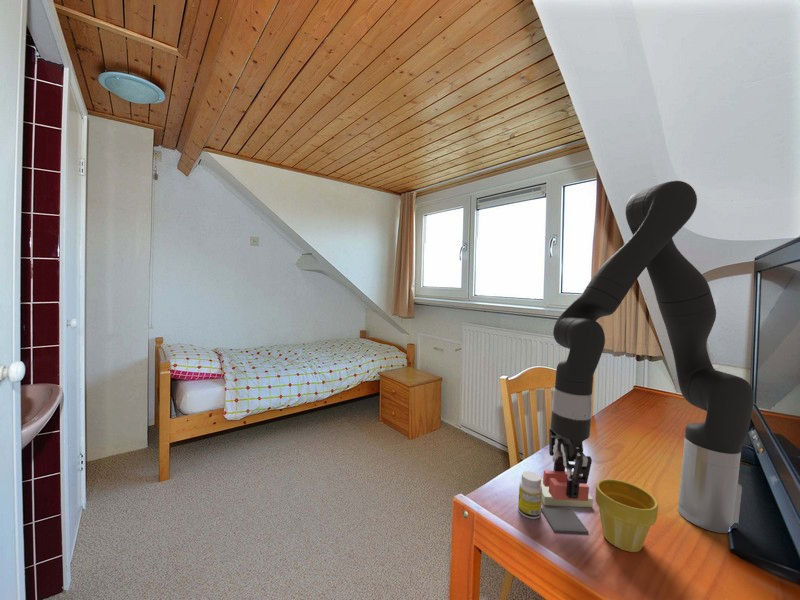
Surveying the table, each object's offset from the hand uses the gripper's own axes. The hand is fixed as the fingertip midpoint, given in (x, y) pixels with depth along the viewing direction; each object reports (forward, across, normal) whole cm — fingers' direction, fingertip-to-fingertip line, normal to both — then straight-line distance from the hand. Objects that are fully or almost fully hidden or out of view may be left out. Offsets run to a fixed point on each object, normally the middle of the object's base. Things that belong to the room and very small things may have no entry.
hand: (564, 488), depth 74 cm
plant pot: (+7, -5, -10) cm, 13 cm away
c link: (+1, 0, 0) cm, 1 cm away
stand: (+7, +9, -4) cm, 12 cm away
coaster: (+7, 0, 0) cm, 7 cm away
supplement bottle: (+8, +2, +6) cm, 10 cm away
